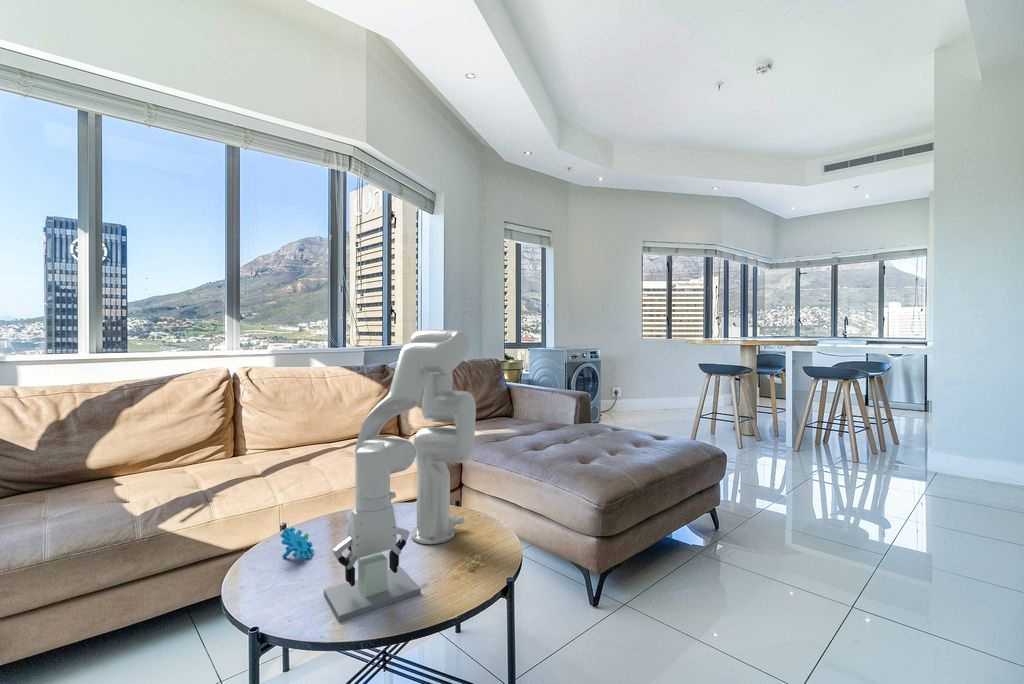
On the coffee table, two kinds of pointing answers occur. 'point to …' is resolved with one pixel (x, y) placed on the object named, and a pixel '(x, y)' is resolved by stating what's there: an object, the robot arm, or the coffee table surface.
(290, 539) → the gear
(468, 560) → the dice set
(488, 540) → the coffee table surface
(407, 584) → the pin plate
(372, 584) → the block
